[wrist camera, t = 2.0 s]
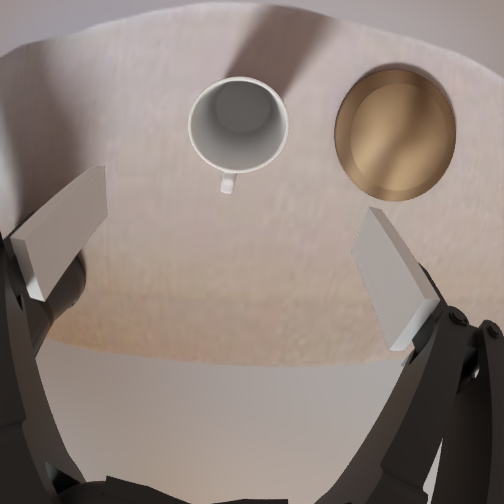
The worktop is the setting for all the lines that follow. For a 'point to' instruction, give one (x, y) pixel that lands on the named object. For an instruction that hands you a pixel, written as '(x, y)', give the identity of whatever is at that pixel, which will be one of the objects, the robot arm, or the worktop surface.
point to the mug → (238, 126)
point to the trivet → (395, 135)
